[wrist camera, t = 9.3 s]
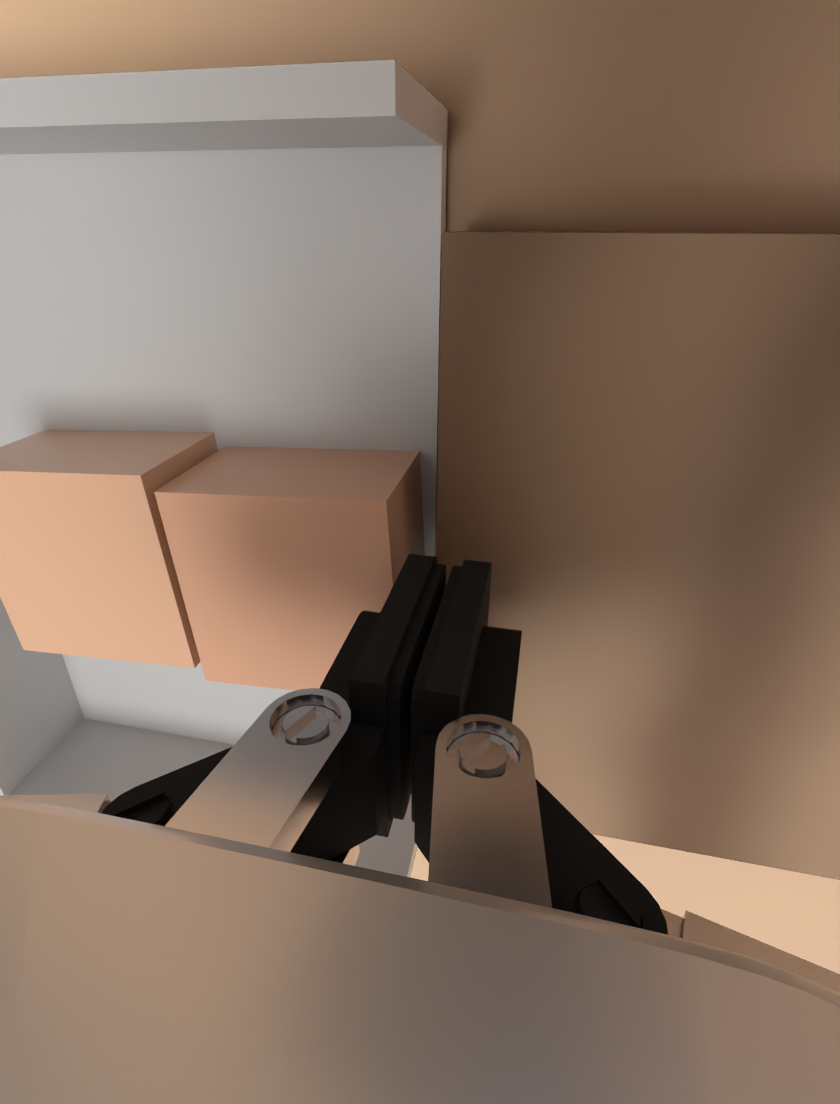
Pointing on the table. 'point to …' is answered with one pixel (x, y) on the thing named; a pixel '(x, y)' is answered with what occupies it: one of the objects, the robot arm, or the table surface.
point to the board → (657, 522)
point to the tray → (210, 335)
